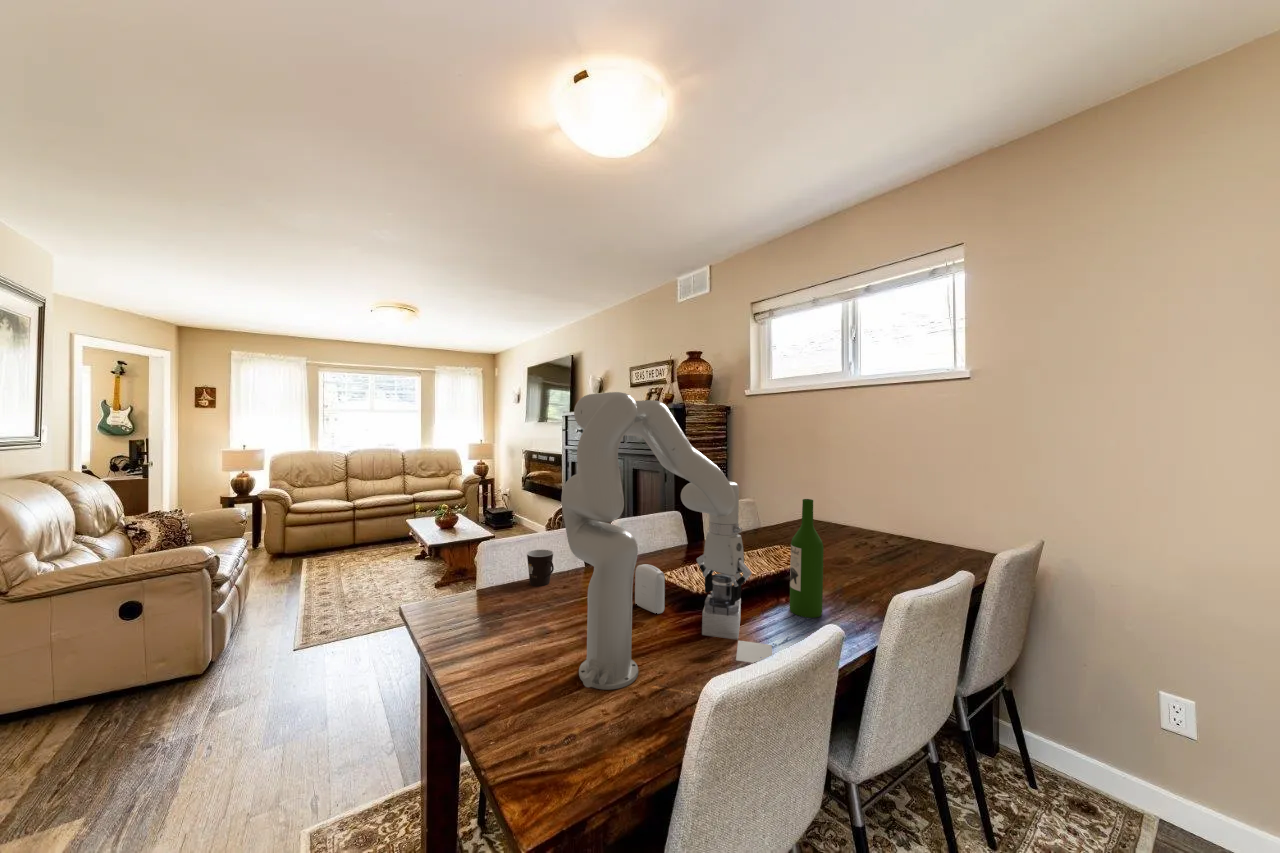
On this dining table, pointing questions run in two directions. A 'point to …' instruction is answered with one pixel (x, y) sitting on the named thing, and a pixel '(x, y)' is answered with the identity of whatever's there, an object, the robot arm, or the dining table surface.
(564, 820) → the dining table surface
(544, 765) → the dining table surface
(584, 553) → the robot arm
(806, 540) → the wine bottle
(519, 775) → the dining table surface
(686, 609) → the dining table surface
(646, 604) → the photo printer
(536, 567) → the coffee mug
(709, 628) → the octagonal socket block
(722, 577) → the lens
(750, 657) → the mat
